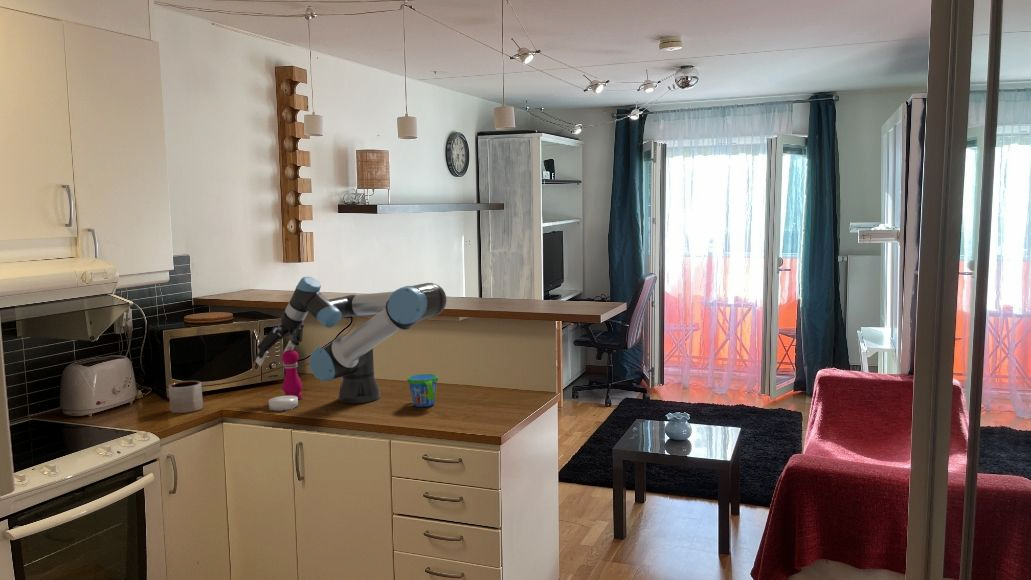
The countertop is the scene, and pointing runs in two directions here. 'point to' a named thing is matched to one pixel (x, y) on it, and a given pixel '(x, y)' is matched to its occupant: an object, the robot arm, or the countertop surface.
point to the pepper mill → (291, 374)
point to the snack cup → (423, 389)
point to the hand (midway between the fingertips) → (272, 360)
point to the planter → (185, 396)
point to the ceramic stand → (283, 403)
